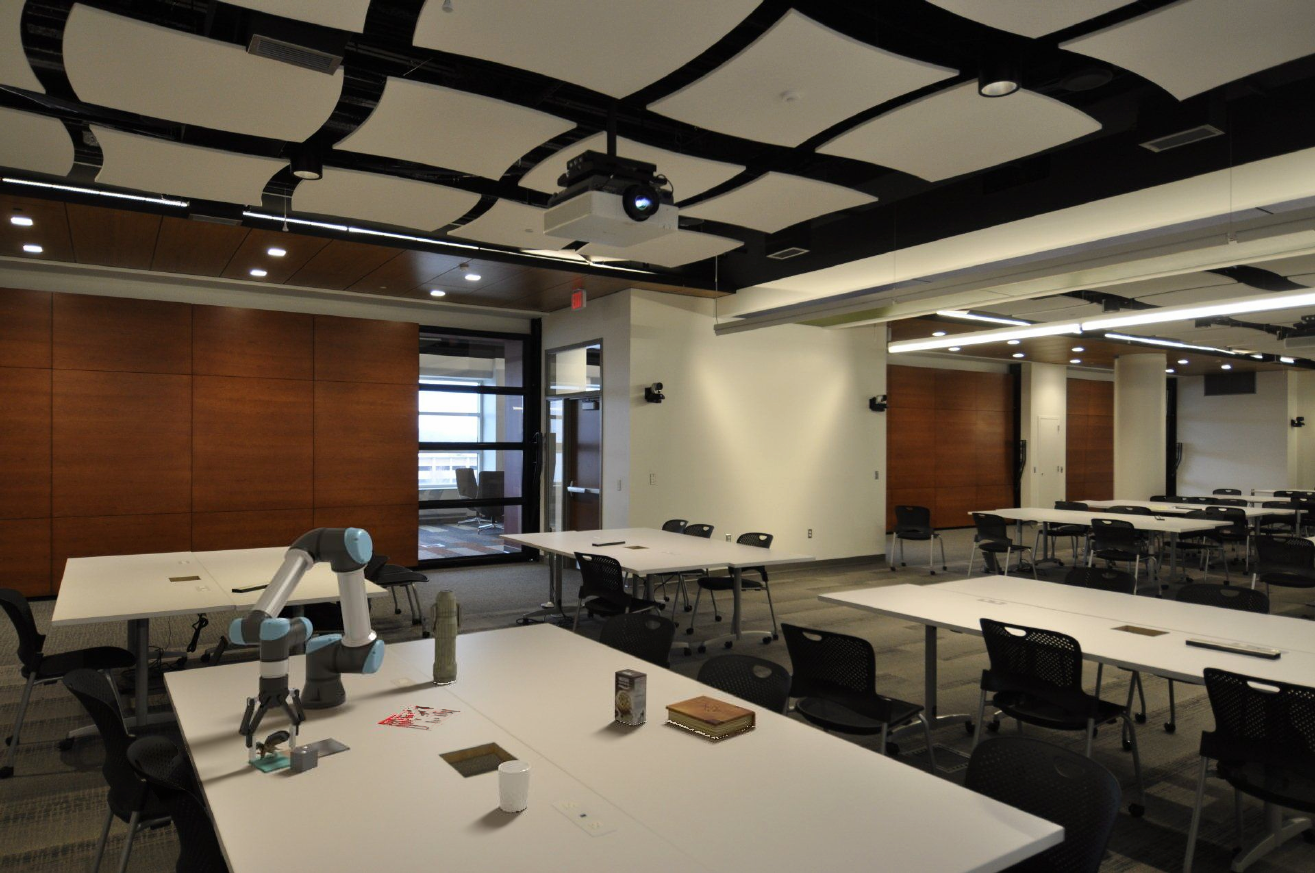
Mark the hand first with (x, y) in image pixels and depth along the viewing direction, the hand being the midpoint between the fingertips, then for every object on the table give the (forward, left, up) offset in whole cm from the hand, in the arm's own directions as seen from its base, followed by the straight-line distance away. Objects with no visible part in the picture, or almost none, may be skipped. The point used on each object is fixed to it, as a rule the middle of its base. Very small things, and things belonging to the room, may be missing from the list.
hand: (272, 753), depth 224 cm
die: (-4, +10, -3) cm, 11 cm away
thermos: (-79, -35, -3) cm, 87 cm away
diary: (-110, +71, -3) cm, 131 cm away
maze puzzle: (-50, -4, -3) cm, 51 cm away
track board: (-8, 0, -3) cm, 8 cm away
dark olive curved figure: (0, -1, -1) cm, 1 cm away
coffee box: (-94, +50, -3) cm, 107 cm away
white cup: (-28, +73, -3) cm, 78 cm away
